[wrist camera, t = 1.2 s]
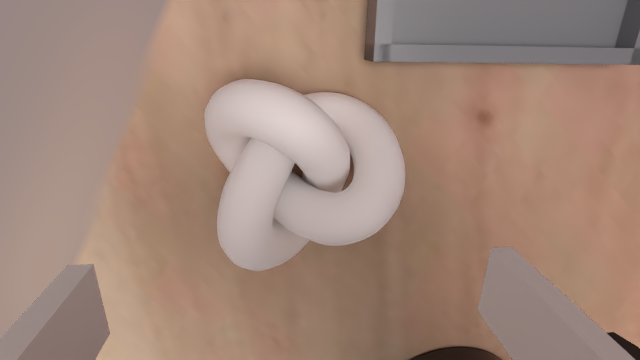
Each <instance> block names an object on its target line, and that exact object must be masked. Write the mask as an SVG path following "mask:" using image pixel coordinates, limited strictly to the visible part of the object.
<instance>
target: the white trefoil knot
mask: <svg viewBox="0 0 640 360" xmlns="http://www.w3.org/2000/svg"><path fill="white" fill-rule="evenodd" d="M204 122H205V130H206V135H207V138H208V140H209V143H210V145H211V147H212V148H213V150H214V152H215V153H216V155H217V156H218V158H219V159H220V161H221V162H222V163H223V165H224V166H225V167H226V169H227V170H228V171H229V172H230V174H229V176H228V178H227V180H226V183H225V185H224V188H223V191H222V194H221V198H220V202H219V208H218V214H217V234H218V239H219V243H220V246H221V248H222V249H223V251H224V252H225V254H226V255H227V256H228V257H229V259H230V260H231V261H232V262H233V263H234V264H235V265H237V266H239V267H241V268H244V269H248V270H252V271H263V270H267V269H270V268H273V267H276V266H279V265H281V264H283V263H285V262H286V261H288V260H290V259H291V258H292V257H293V256H295V255H296V254H297V253H298V252H299V251H300V250H301V249H302V248H303V247H305V246H306V244H307V243H308V242H309V241H310V240H311V241H313V242H316V243H319V244H322V245H328V246H342V245H348V244H353V243H355V242H358V241H361V240H365V239H366V238H368V237H370V236H372V235H374V234H375V233H377V232H378V231H379V230H380V229H381V228H382V227H383V226H384V225H385V224H387V222H388V221H389V220H390V219H391V217H392V216H393V214H394V213H395V211H396V210H397V208H398V207H399V204H400V201H401V199H402V196H403V193H404V187H405V179H406V172H405V163H404V158H403V155H402V152H401V149H400V146H399V143H398V140H397V138H396V136H395V134H394V132H393V131H392V129H391V127H390V125H389V124H388V123H387V122H386V120H385V119H384V118H383V117H382V116H381V115H380V114H379V113H378V112H377V111H376V110H374V109H373V108H372V107H371V106H369V105H368V104H366V103H364V102H362V101H361V100H359V99H357V98H354V97H351V96H348V95H345V94H340V93H334V92H316V93H309V94H305V95H303V94H301V93H299V92H297V91H295V90H293V89H291V88H288V87H286V86H283V85H281V84H277V83H273V82H268V81H263V80H256V79H240V80H236V81H232V82H230V83H229V84H227V85H225V86H223V87H221V88H220V89H218V90H217V91H215V92H214V93H213V95H212V97H211V99H210V101H209V103H208V105H207V107H206V109H205V111H204ZM350 154H351V156H352V160H353V164H354V176H353V181H352V182H351V184H350V185H349V186H348V187H347V188H346V189H345V190H343V191H342V189H343V186H344V183H345V181H346V179H347V177H348V175H349V171H350ZM295 163H296V164H297V165H298V166H299V168H300V169H301V170H302V171H303V173H302V178H300V177H299V176H298V175H296V174H295V173H294V172H293V171H291V170H292V168H293V166H294V165H295Z"/></svg>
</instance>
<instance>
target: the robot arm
mask: <svg viewBox="0 0 640 360" xmlns="http://www.w3.org/2000/svg"><path fill="white" fill-rule="evenodd" d="M478 313H479V314H480V315H481V317H482V318H483V319H484V321H485V322H486V324H487V325H488V326H489V328H490V329H491V331H492V332H493V333H494V335H495V336H496V338H497V339H498V340H499V342H500V343H501V345H502V346H503V347H504V349H505V350H506V352H507V353H508V354H509V356H510V357H511V358H512V360H640V349H639V348H638V347H637V346H636V345H634V344H632V343H631V342H629V341H627V340H626V339H624V338H622V337H621V336H619V335H617V334H616V333H614V332H611V333H606V332H605V331H604V330H602V329H601V328H600V327H599V326H598V325H597V324H596V323H595V322H594V321H593V320H592V319H590V318H589V317H588V316H587V315H586V314H585V313H584V312H583V311H582V310H581V309H579V308H578V307H577V306H576V305H575V304H574V303H573V302H572V301H571V300H570V299H568V298H567V297H566V296H565V295H564V294H563V293H562V292H561V291H560V290H559V289H558V288H556V287H555V286H554V285H553V284H552V283H551V282H550V281H549V280H548V279H547V278H545V277H544V276H543V275H542V274H541V273H540V272H539V271H538V270H537V269H536V268H534V267H533V266H532V265H531V264H530V263H529V262H528V261H527V260H526V259H525V258H523V257H522V256H521V255H520V254H519V253H518V252H517V251H516V250H515V249H514V248H513V247H497V248H491V251H490V255H489V260H488V265H487V269H486V274H485V279H484V284H483V288H482V293H481V298H480V302H479V307H478ZM109 334H110V331H109V327H108V323H107V319H106V315H105V310H104V306H103V302H102V298H101V294H100V290H99V285H98V281H97V277H96V273H95V269H94V264H88V265H67V266H66V267H65V269H64V270H63V271H62V272H61V273H60V274H59V275H58V276H57V277H56V279H54V281H53V282H52V283H51V284H50V285H49V286H48V287H47V288H46V289H45V291H44V292H43V293H42V294H41V295H40V296H39V297H38V298H37V299H36V300H35V301H34V303H33V304H32V305H31V306H30V307H29V308H28V309H27V310H26V311H25V312H24V313H23V314H22V316H21V317H20V318H19V319H18V320H17V321H16V322H15V323H14V325H12V327H11V328H10V329H9V330H8V331H7V332H6V333H5V334H4V335H3V336H2V337H1V339H0V360H95V359H96V357H97V355H98V354H99V352H100V350H101V348H102V346H103V345H104V343H105V341H106V339H107V338H108V336H109ZM413 360H501V359H500V358H498V357H497V356H495V355H493V354H491V353H488V352H486V351H482V350H478V349H473V348H449V349H443V350H438V351H434V352H431V353H428V354H425V355H422V356H420V357H417V358H415V359H413Z"/></svg>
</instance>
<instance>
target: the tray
mask: <svg viewBox="0 0 640 360" xmlns="http://www.w3.org/2000/svg"><path fill="white" fill-rule="evenodd" d="M365 60H369V61H375V62H457V63H540V64H623V65H640V0H368V8H367V26H366V44H365Z"/></svg>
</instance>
